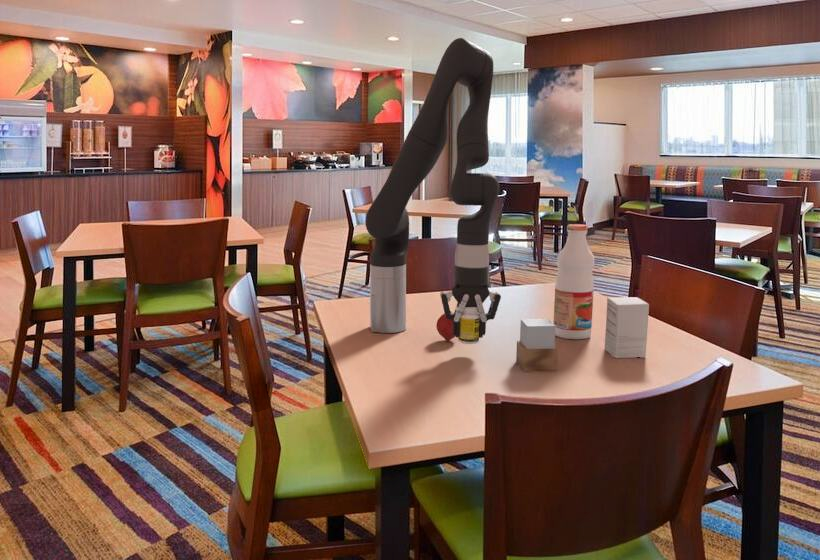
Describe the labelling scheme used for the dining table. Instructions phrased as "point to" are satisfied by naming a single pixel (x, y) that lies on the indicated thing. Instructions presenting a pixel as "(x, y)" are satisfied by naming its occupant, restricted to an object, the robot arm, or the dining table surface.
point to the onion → (445, 327)
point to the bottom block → (536, 359)
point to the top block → (537, 334)
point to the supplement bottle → (469, 326)
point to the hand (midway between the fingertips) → (468, 336)
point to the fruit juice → (574, 286)
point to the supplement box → (626, 327)
